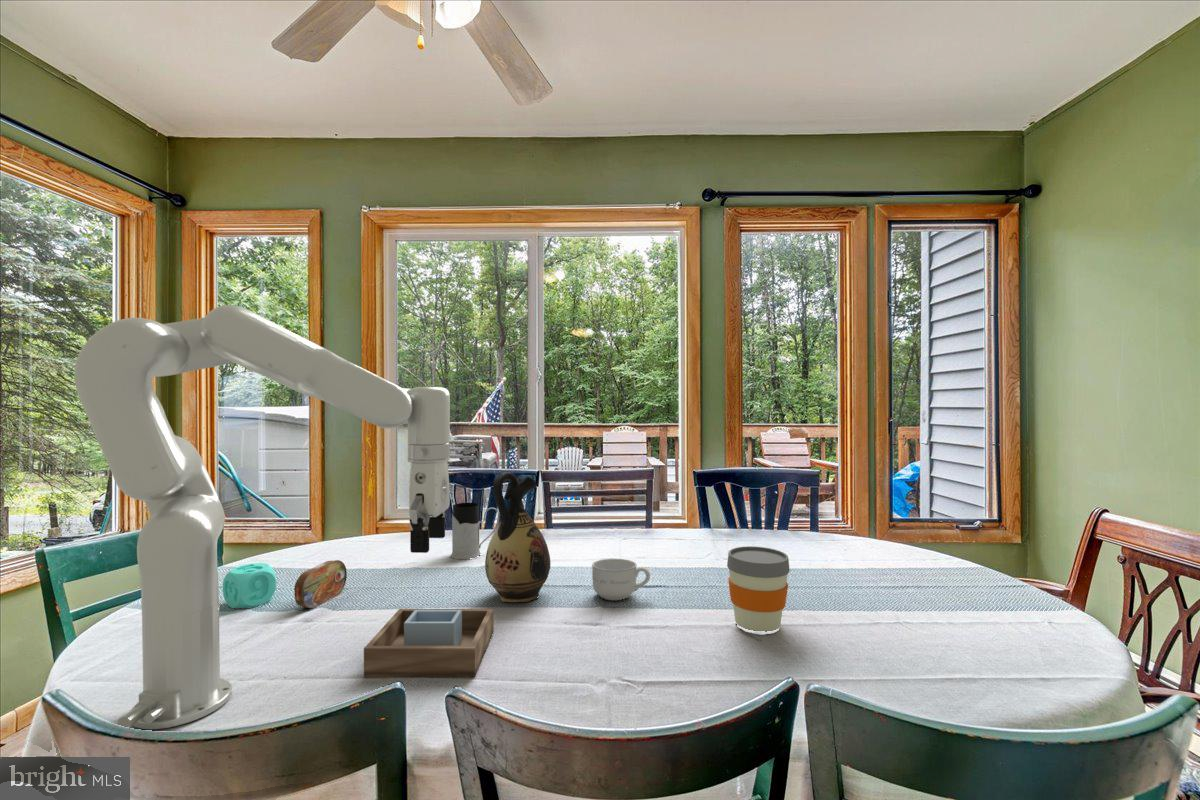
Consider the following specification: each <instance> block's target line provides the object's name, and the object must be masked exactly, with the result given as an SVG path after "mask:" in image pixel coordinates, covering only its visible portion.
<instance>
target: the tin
mask: <svg viewBox="0 0 1200 800" xmlns="http://www.w3.org/2000/svg"><path fill="white" fill-rule="evenodd" d="M347 577H348V572H347V568H346V565H345V563H344V562H343V561H341V560H340V559H339V560H338V559H336V560H326V561H324V562H323V563H321V564H318V565H316V566H314V567H311V568H310V569H307V570H305V571H303V572H302V573H300V575H299V576H298V578H297V579H296V582H295V584H294V587H293V588H294V592H293V593H294V600H295V603H296V604H297V606H299V607H300V608H306V609H315V608H318V607H319V606H321V605H323V604H325V603H326V602H328V601H329V600H331V599H333V598H335V597H337V596H338V595H339V594H340V593H341V592H342V591H343V590H344V588H345V586H346V583H347V582H346V581H347Z"/></svg>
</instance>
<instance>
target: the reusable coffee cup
mask: <svg viewBox="0 0 1200 800" xmlns="http://www.w3.org/2000/svg"><path fill="white" fill-rule="evenodd" d="M789 559H790V558H789V555H788V554H787V553H785V552H784V551H781V550H779V549H774V548H771V547H763V546H747V545H746V546H738V547H734V548H731V549H729V551H728V554H727V564H726V567H727V569H728V573H729V577H728V578H727V579H728V580H727V581H728V588H729V597H730V601H731V603H732V606H733V614H734V615H733V616H734V621H735V622H736V623H737V624H738V625H739V626H741V627H743V628H745V629H748V630H753V631H765V632H767V631H773V630H776V629H778V628H779V627H780V628H781V625H782V624H781V623H782V616H783V609H784V608H785V607H786V603H787V597H788V589H789V583H788V582H787V581H788V575H789V573H790V571H791V570H790V569H791V568H790V562H789V561H790V560H789ZM736 623H735V624H736Z"/></svg>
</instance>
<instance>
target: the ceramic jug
mask: <svg viewBox="0 0 1200 800" xmlns="http://www.w3.org/2000/svg"><path fill="white" fill-rule="evenodd" d="M507 481H508V482H509V487H508V489H507V491H506V494H505V496H504V494H503V491H502V487H503V486H502V485H503V484H504V483H505V482H507ZM537 486H538V485H537V482H536V480H534V478H532V477H530V476H527V475H526V476H525V477H521V476H518V477H517V476H516V475H515V474H513V473H512V472H510V471H509V472H507V471H503V472H500V473H498V474H496V476H495V477H494V479H493V484H492V491H493V497H494V499H495V503H496V505H497V510H498V512H499V520H500V522H499V523H498V526H497V528H496V530H495V532H494V533H493V534H492V535H491V539H490V541H489V543H488V546H487V549H486V553H485V554H486V555H485V559H484V561H485V562H484V570H485V575H486V578H487V581H488V583H489V584H490V585H491V587H492V588H494V590H495V591H496V592H497V594H498V595H499V599H500V601H501V600H502V601H501V602H503V603H527V602H528V603H529V602H531V600H532V601H534V599H535V600H537V599H536V598H537V597H538V596H539V597H540V595H539V593H540V591H541V590H542V587H543V585H544V584H545V583H546V582H547V579H548V578H549V573H550V572H551V571H550V570H551V556H550V551H549V547H548V544H547V541H546V539H545V537H544V536H543V533H542V531H541V530H540V529H539V527H538V525H537V524H536V522H535V521H534V520H533V518H532V517H531V516H530V515H529V514H528V512H527V510H526V508H525V506H524V502H523V498H524V496H526V495H527V494H528V493H530V492H531V491H532V490H534V489H535V488H536V487H537ZM506 500H507V501H509V502H508V507H507V506H506V505H507V504H506Z"/></svg>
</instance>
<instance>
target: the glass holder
mask: <svg viewBox="0 0 1200 800" xmlns="http://www.w3.org/2000/svg"><path fill="white" fill-rule="evenodd" d="M479 505H480V504H479V503H476V502H460V503H459V502H458V503H455V504H453V505H452V513H451V516H452V517H451V521H452V523H451V526H452V528H451V530H452V532H451V534H452V535H451V536H452V537H451V538H452V539H451V540H452V541H451V542H452V546H451V547H452V548H451V549H452V552H451V554H450V558H451V557H452V558H451V559H453V558H455V559H454V560H457V559H468V560H471V559H470V558H474V559H476V558H475V557H477V556H479V555H480V554H481V555H482V553H481V551H480V549H481V547H482V544H484V543H485V542H486V541H487V540H488V539H489V538H490V537H492V536H493V534H494V532H495V531H496V529H497V527H498V525H499V523H500V522H499V521H500V512H499V511H498V508H495V507H489V508H486V510H485V511H484V515H483V520H482V521H480V518H479V517H480V514H479V513H480V512H479V510H480V506H479ZM489 510H494V511H496V512H497V521H496V524H495V527H494V529H493V530H492V532H491V533H490V534H489V535H488V536H487V537H485V538H484V539H483V540H482V541H481V542H480V524H483V523H484V522H486V516H487V513H488V511H489ZM479 557H480V556H479ZM477 558H478V557H477Z"/></svg>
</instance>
